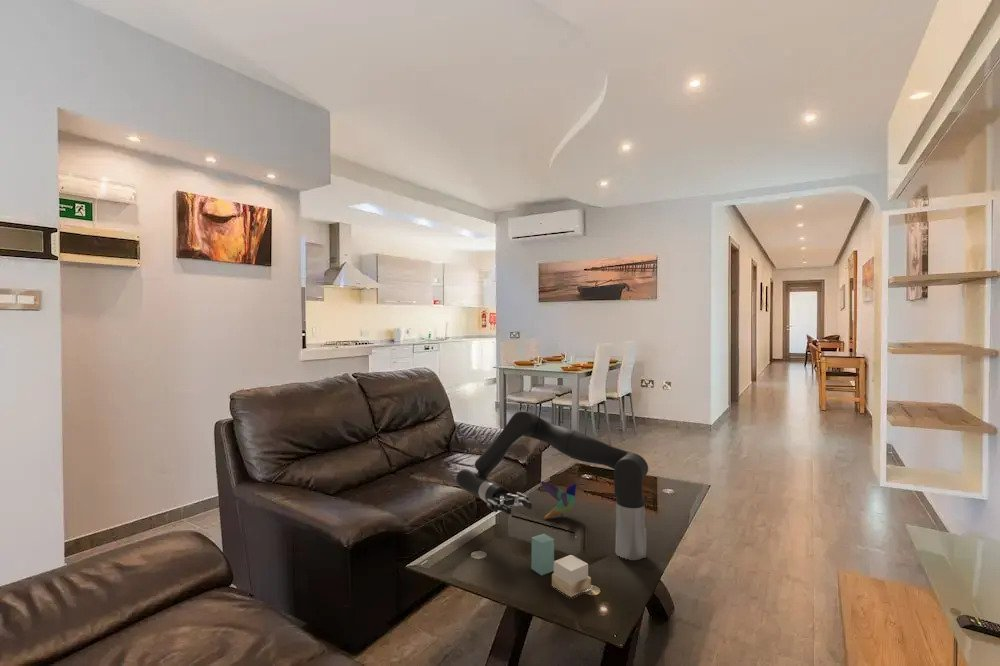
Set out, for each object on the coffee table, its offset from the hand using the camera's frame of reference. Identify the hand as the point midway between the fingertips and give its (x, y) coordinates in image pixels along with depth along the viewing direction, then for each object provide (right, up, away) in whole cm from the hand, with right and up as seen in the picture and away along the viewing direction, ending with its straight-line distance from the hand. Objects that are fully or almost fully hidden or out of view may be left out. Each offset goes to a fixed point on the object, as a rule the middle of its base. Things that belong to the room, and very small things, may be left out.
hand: (520, 508), depth 164 cm
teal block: (+6, -16, -9) cm, 19 cm away
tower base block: (+14, -17, -19) cm, 29 cm away
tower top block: (+14, -13, -20) cm, 27 cm away
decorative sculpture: (+19, -15, +33) cm, 41 cm away
